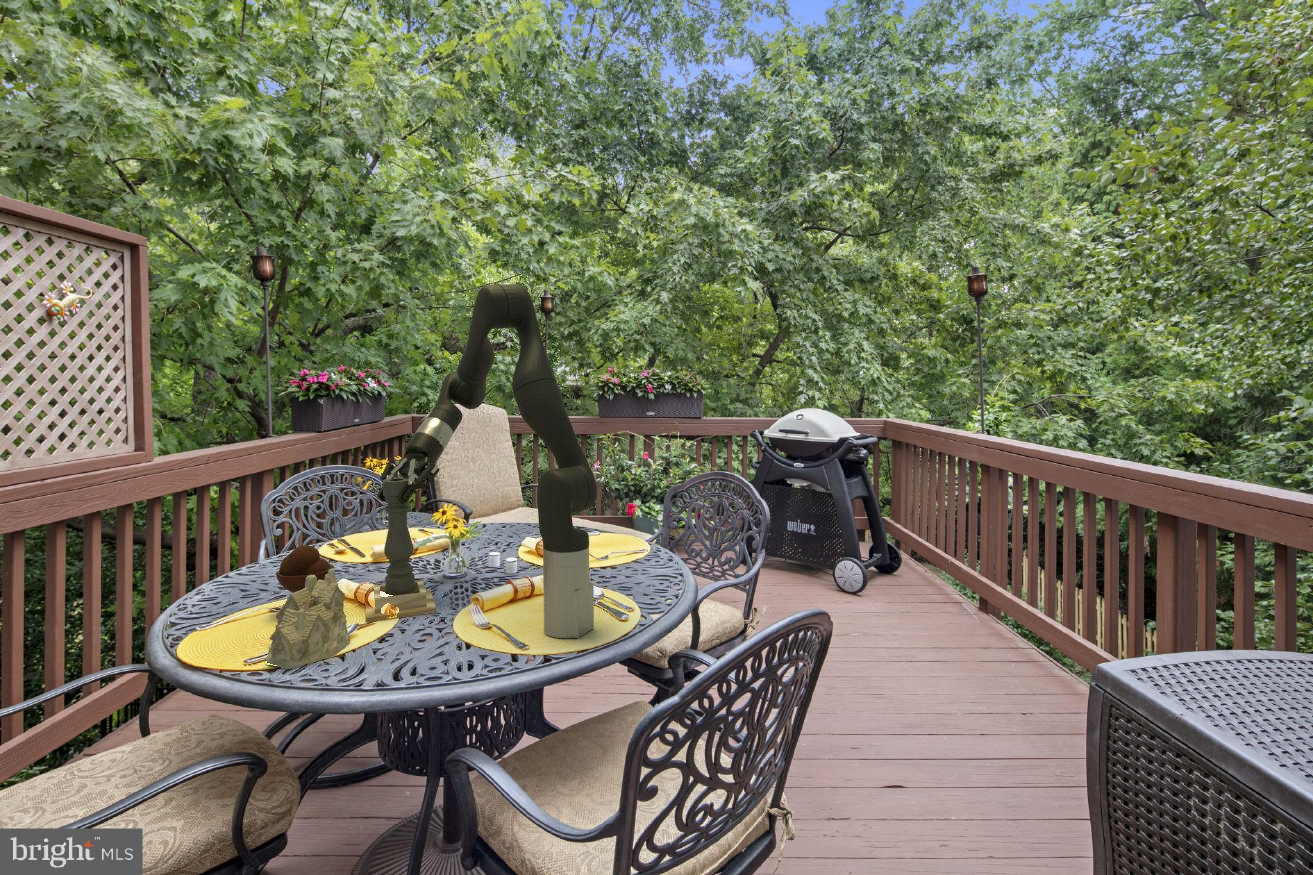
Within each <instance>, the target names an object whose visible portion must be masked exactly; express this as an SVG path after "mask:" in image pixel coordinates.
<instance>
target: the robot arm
mask: <svg viewBox="0 0 1313 875" xmlns="http://www.w3.org/2000/svg"><path fill="white" fill-rule="evenodd" d="M474 300H475V301H474V304H473V309H472V313H471V320H470V326H469V330H468V336H467V341H466V345H465V348H464V351H463V353H462V355H461V357H460V361H459V362H458V365H457V368H456V371H451V372H448V374H446V376H445V377H444V379H442V383H441V388H440V390H439V394H438V398H437V399H436V403H435V405H434V406H433V408H432V410H431V411H430V413H429V414H428V416H427V417H426V418H425V420H424V421H423V422H422V423H421V424H420V425H419V426H418V428H417V429H416V431H415V432H414V434H413V435H412V437H411V438H410V440H409V442H407V444H406V446H405V447H404V451H405V453H404V456H403V457H401V458H400V459H399V460H395V459H394V458H390V459H389V460H388V461H387V463H386V465H385V467H384V469H383V472H382V473H381V476H380V478H379V480H380V481H382V482H383V480H385V479H392V478H408V485H406V486H405V487H404V489H403V490H402V492H401V493H400V495H399V496H398V498H397V499H398V501H399V502H400V503H401V504H408V503H407V502H409V501H410V499H411V498H412V496H413V494H414V493H415V492H417V491H418V490H419V489H421V490H425V489H426V488H427V487H428V486H429V484H430V483H431V482H432V480H433V479H435V477H436V475H437V474H438V473H439V472H440V470H441V469H440V467H439V466H438V465H437V462H438V460H439V458H440V457H441V455H442V454H443V452H444V451H445V449H446V448H447V446H448V444H449V443H450V441H451V439H452V436H453V435H454V433H455V432H456V430H457V428H458V427H459V426H460V424H461V422H462V421H463V412H462V411H461V409H460V408H459V407H457V405H456V404H458V405H459V406H461V407H463V408H465V409H468V410H475V409H478V408H479V407H480V406H481V405H482V404H483V402H484V400H485V397H486V390H487V388H486V387H487V384H486V383H487V377H488V375H489V374H490V371H491V369H492V367H493V364H494V362H495V351H494V347H493V345H492V343H491V341H490V338H489V334H490V332H491V331H492V330H493V329H496V330H497V329H500V330H501V329H502V330H503V329H514V330H515V331H516V333H517V335H518V340H519V341H518V342H519V345H520V346H519V347H520V348H519V355H518V359H517V363H516V365H515V369H514V371H513V375H512V376H513V377H512V380H511V390H512V393H513V396H514V399H515V403H516V405H517V409H518V411H519V413H520V416H521V418H522V419H523V421H524V422H525V424H526V425H527V426H528V427H529V428H530V429H531V431H533V432H534V433H535V434H536V435H537V437H539V439H541V441H542V442H544V444H545V445H546V446H547V448H549V450H550V451H551V454H552V455H553V457H554V460H555V462H556V464H557V467H558V468H553V469H548V470H546V471H544V472H543V473H542V474H541V475H540V477H539V480H538V483H537V486H536V487H537V488H536V489H537V490H536V491H537V492H536V501H537V514H538V518H537V519H538V529H539V533H540V537H541V540H542V556H543V557H542V558H543V559H542V560H543V562H542V564H543V565H542V566H543V567H542V568H543V569H542V570H543V574H542V576H543V578H542V579H543V582H542V583H543V631H544V633H545V635H547V636H548V637H552V638H557V639H570V638H574V639H579V638H581V637H582V636H584V635H585V634H587V633H589V632H590V631H592V630H594V628H595V622H594V620H595V617H594V616H595V614H594V613H595V607H594V606H595V605H594V598H595V597H594V594H595V593H594V592H595V591H594V590H595V588H594V587H595V586H594V583H593V582H590V535H589V533H588V532H587V531H586V530H584V529H581V528H579V527H578V528H577V527H575V526H574V523H573V516H572V514H573V513H577V512H582V511H586V510H589V509H591V508H592V507H593V506H595V504H596V501H597V497H598V487H597V481H596V478H595V475H594V472H593V470H592V468H591V466H590V464H589V461H588V459H587V457H586V455H585V453H584V451H583V449H582V446H581V445H580V441H579V440H578V438H577V435H576V433H575V431H574V427H573V425H572V423H571V420H570V417H569V415H568V412H567V409H566V406H565V402H564V398H563V395H562V393H561V390H560V387H559V385H558V384H559V383H558V381H557V379H556V376H555V374H554V372H553V369H552V366H551V363H550V360H549V357H548V355H547V352H546V348H545V345H544V344H545V343H544V341H543V336H542V333H541V330H540V326H539V322H538V317H537V314H536V309H535V306H534V301H533V300H532V296H531V295H530V292H529V291H528V289H527V288H526V287H525V286H524V285H521V284H516V283H515V284H514V283H511V284H509V283H508V284H507V283H506V284H499V283H498V284H486V285H483V286H481V288H480V289H479V291H478V292H477V294H476V297H475V299H474ZM454 403H455V404H454ZM398 473H399V474H400V475H401V476H400V475H399V474H398ZM423 480H424V481H423ZM376 498H377V499H378V500H379V501H380V502H387V501H386V500H385V496H383V485H382V486H381V487H380V489H379V491H378V493H377V494H376Z"/></svg>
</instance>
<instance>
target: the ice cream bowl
mask: <svg viewBox="0 0 1313 875" xmlns="http://www.w3.org/2000/svg"><path fill="white" fill-rule="evenodd" d="M334 567H335V566H334V565H333V564H331V563H329V561H327V560H326V559H324V558H322V557H321V555H320V551H319V550H318V548H316V547H314V546H311V545H303V544H302V545H300V546H297V547H295V548H294V549H293V550H292V551H291V552H290V553H289V554H287V555H285V557H283V559H282V560H281V563H280V564H279V570H278V571H276V572H275V576H276V580H277V582H278V583H279V585H280V586H282V587H283V588H284V589H285V590H287V591H288V592H290V593H291V594H292V593H294V592H297V591H300V590H302V589H304V588H305V582H306V577H307V576H309V575H315V576H316V577H317V582H318V580H324V579H325V575H326V574H328V571H329V569H332V568H333V569H335V568H334Z"/></svg>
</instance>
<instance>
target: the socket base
mask: <svg viewBox="0 0 1313 875" xmlns="http://www.w3.org/2000/svg"><path fill="white" fill-rule="evenodd" d="M380 590H381V591H383V592H385V593H386V588H385V584H376V585H373V596H374V599H375V609H374V608H372V607H370V606H368V605H366V604H365V622H366V623H371V622H370V621H373V622H379V621H378V620H380V621H385V620H384V619H387V620H389V619H388V618H387V617H389V616H390V615H384V614H382V613H381V608H382V607H383V606H384V605H385V604H387V603H389V604H393V605H394V606H397V607H398V608H399V612H398V613H397V618H396V619H401V618H407V617H408V618H409V617H415V616H422V615H429V614H436V613H437V606H436V602H435V600H434V596H433V594H432V591H431V589H430V588H429V589H426V587H425V584H424V581H423V579H421V580H415V590H414V591H413V592H410V593H407V594H403V595H393V596H388V597H381V596H380ZM391 615H392V616H394V614H391ZM395 615H396V614H395ZM392 616H391V617H392Z"/></svg>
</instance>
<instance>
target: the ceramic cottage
mask: <svg viewBox="0 0 1313 875" xmlns="http://www.w3.org/2000/svg"><path fill="white" fill-rule="evenodd" d="M345 598H346V594H345V593H344V592H343V591H342V590H341V588H340V587H339V583H338V582H337V578H336V569H335V568H332V569H329V571H328V574H326V575H325V579H324V580H318V582H317V577H316V576H315V575H309V576H307V577H306V582H305V588H304V589H302V590H300V591H297V592H294V593H292V592H291V593H290V594H289V596H287V599H286V601H285V602H284V604H283V606H282V607H281V608H280V610H279V611H278V612H277V613H276V614H275V617H276V619H277V624H276V625H275V629H274V632H273V633H272V634H271V635H270V637H269V638H268V639H269V640H270V641H271V644H270V646H269V648H268V652H267V655H268V656H267V655H266V657H265V659H266V661H267V663H270V664H273V665H277V667H276V668H278V667H281V668H280V669H282V670H292V669H293V670H294V669H296V668H300V667H304V666H305V665H310V664H313V663H315V662H318V661H322V660H326V659H328V658H330V657H332V656H334V655H336V654H338V653H339V652H340V651H343V650H344V649H346V648H347V647H348V646H349V645H350V644H351V642H350V641H351V635H350V633H349V630H348V628H347V624H348V623H347V621H348V620H347V614H345V612H344V601H345ZM348 644H349V645H348ZM347 645H348V646H347ZM346 646H347V647H346Z"/></svg>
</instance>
